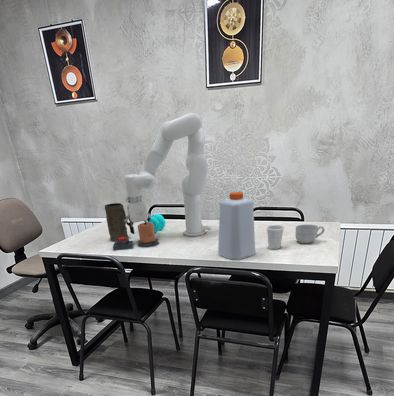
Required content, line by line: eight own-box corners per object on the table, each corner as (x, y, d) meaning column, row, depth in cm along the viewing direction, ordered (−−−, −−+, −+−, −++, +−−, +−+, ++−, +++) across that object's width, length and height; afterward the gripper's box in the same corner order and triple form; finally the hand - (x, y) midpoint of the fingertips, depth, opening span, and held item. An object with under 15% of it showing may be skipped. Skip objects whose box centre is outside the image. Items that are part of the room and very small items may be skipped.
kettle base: (158, 240, 196) (158, 237, 195) (158, 246, 186) (158, 243, 185) (138, 242, 195) (137, 239, 194) (137, 248, 185) (136, 245, 185)
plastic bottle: (214, 254, 168) (212, 193, 154) (238, 247, 175) (238, 188, 161) (234, 261, 158) (234, 197, 143) (258, 254, 165) (260, 191, 150)
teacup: (293, 244, 174) (294, 228, 170) (295, 238, 182) (297, 223, 178) (322, 245, 169) (324, 229, 165) (323, 239, 178) (325, 223, 174)
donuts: (167, 230, 214) (165, 213, 209) (158, 234, 207) (156, 217, 202) (153, 229, 218) (151, 212, 213) (144, 233, 211) (142, 216, 206)
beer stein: (124, 241, 198) (118, 205, 188) (106, 241, 200) (100, 205, 191) (133, 236, 211) (129, 201, 202) (117, 236, 213) (112, 202, 204)
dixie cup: (282, 244, 174) (284, 224, 169) (282, 250, 167) (284, 229, 162) (266, 244, 176) (266, 225, 171) (265, 250, 169) (266, 229, 164)
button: (126, 239, 188) (125, 236, 187) (125, 241, 185) (125, 238, 184) (119, 240, 188) (118, 237, 187) (118, 242, 185) (117, 239, 184)
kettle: (133, 239, 194) (130, 221, 189) (146, 235, 198) (144, 219, 193) (147, 245, 182) (145, 227, 177) (161, 241, 186) (159, 224, 181)
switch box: (133, 244, 192) (132, 237, 190) (132, 248, 185) (131, 241, 183) (115, 246, 192) (114, 239, 190) (113, 250, 185) (112, 243, 183)
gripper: (123, 203, 178) (128, 236, 187) (152, 197, 186) (156, 230, 195) (117, 201, 184) (123, 233, 193) (146, 196, 192) (150, 227, 201)
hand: (139, 231), depth 194 cm, fingers open, 8 cm apart
